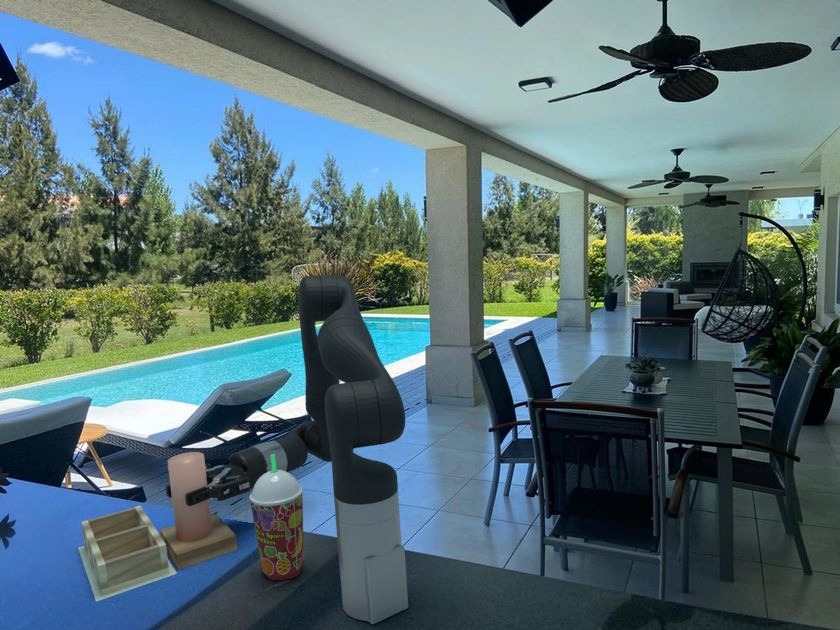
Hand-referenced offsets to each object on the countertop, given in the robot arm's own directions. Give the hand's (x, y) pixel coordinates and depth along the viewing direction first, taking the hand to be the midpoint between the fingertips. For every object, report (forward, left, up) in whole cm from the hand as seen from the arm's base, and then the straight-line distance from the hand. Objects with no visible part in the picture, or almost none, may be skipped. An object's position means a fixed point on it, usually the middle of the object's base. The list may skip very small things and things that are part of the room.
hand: (177, 496), depth 107 cm
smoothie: (-17, -11, -11) cm, 24 cm away
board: (+1, -3, -11) cm, 11 cm away
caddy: (+5, +9, -11) cm, 14 cm away
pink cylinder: (+1, -2, -8) cm, 8 cm away
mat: (+5, +9, -11) cm, 15 cm away
